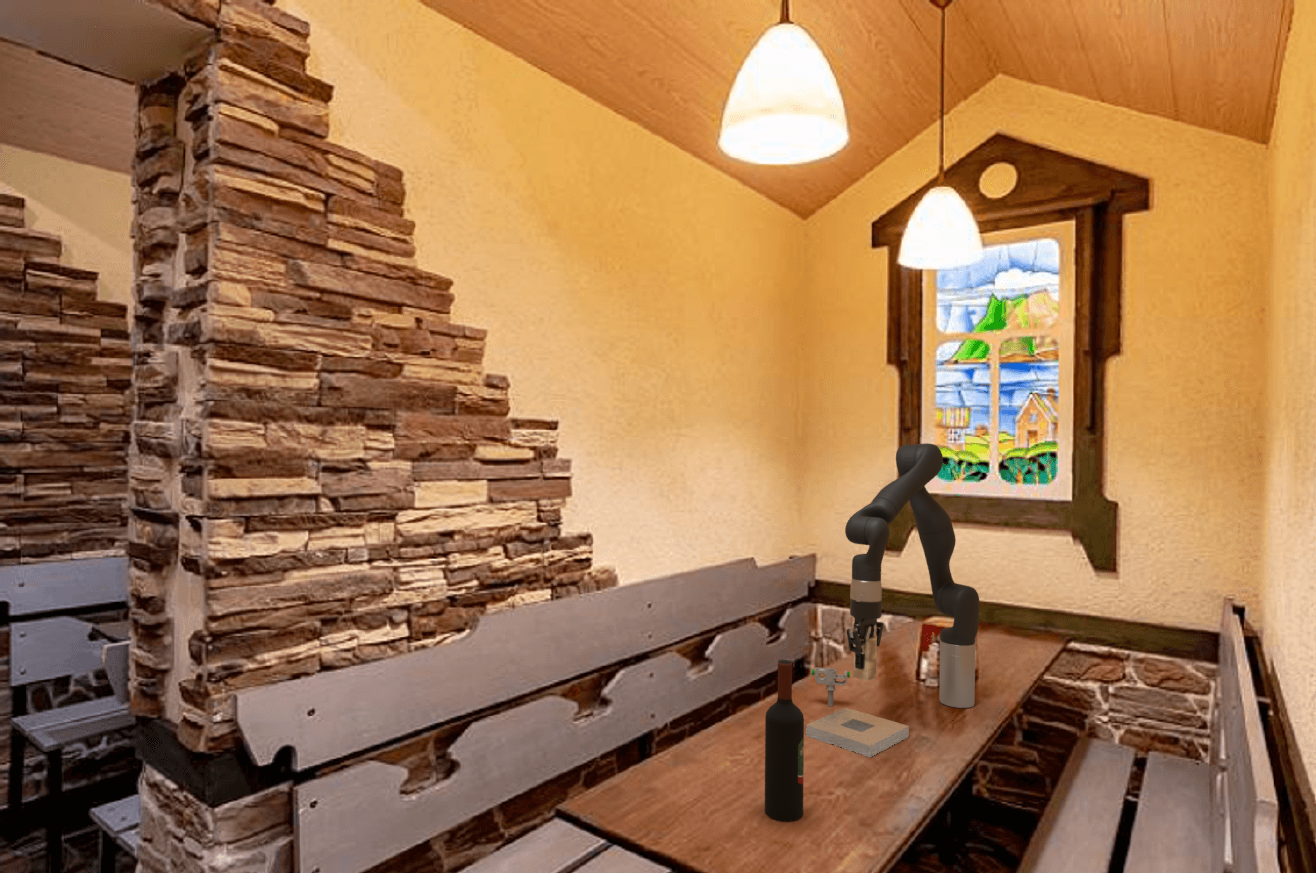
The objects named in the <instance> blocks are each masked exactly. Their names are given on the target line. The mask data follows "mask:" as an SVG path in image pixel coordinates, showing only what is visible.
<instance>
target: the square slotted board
mask: <svg viewBox="0 0 1316 873" xmlns="http://www.w3.org/2000/svg"><path fill="white" fill-rule="evenodd" d="M909 731H910V726H909V725H907V724H903V723H899V722H897V721H894V720H890V719H887V718H883V717H879V716H877V715H873V714H870V713H865V712H862V711H859V710H856V709H852V708H849V707H844V708H841V709H839V710H836V711H835V712H833V713H830V714H828V715H825V716H823V717H821V718H819V719H816V720H814V721H811V722H809V723H807V724H805V736H806V737H807V738H810V739H814V740H816V741H820V742H823V743H826V744H829V745H831V744H834V745H836V746H835V747H837V746H839V747H838V748H840V747H842V748H841V749H843V748H844V749H843V750H846V749H847V750H846V751H848V752H852V751H854V752H853V753H855V752H856V754H858V753H859V755H861V754H862V755H861V756H863V757H864V756H865V757H866V756H867V758H869V759H871V758H873V757H874V755H875V756H876V754H877V753H878V754H880V753H882V752H884V751H886V750H888V749H889V747H890V748H891V747H893V746H895V745H897V744H899V743H901V742H903V741H904V740H906V739H908V738H909V736H910V735H909V733H910V732H909ZM902 740H903V741H902ZM894 744H895V745H894ZM834 745H833V746H834ZM892 745H893V746H892ZM881 751H882V752H881ZM879 752H880V753H879ZM878 754H877V755H878ZM872 756H873V757H872Z"/></svg>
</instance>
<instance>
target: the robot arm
mask: <svg viewBox="0 0 1316 873" xmlns="http://www.w3.org/2000/svg"><path fill="white" fill-rule="evenodd" d="M895 454H896V455H895V464H896V469H897V473H898V476H899V477H898V478H896V479H894V480H893V481H891V482H889V483H888V484H886V485H885V486H884V487H883V488H881V490H879V492H878V493H877V494H876V495H875V496H874V498H873V499H872V500H871V501H870V503H868V504H866V505H865V506H863V507H862V508H861V509H859V510H857V511H855V513H853V515H851V516H850V517H849V519H848V520H847V522H846V525H845V529H844V530H845V532H844V533H845V537H846V538H847V540H848V541H849V542H851V543H852V544H855V545H863V546H869V547H868V550H867V551H866V553H860V554H859V553H858V554H856V555H854V556H853V557H852V560H851V561H852V562H851V581H850V590H849V591H850V592H849V593H850V594H849V595H850V596H849V597H850V598H849V602H850V603H849V614H850V616H851V617H853V618H854V619H853V620H854V621H853V627H852V628H851V629H850V628H847V629H846V636H847V641H848V647H849V652H853V653H854V652H855V667H856V668H858V669H864V667H865V654H864V653H865V645H867V640H868V639H869V638H870V637H877V648H878V647H880V645H881V639H882V633H883V630H884V623H883V622H880V621H878V620H877V619H880V618H881V617H882V609H883V608H882V602H883V598H882V597H883V588H882V587H883V586H882V564H883V563H882V562H883V558H884V555H885V552H886V549H887V548H886V547H887V544H888V541H889V538H890V527H889V524H891V523H892V522H893V521H894V520H895V519H896V518H897V516H898V515H899V513H900V512H901V511H902V509H903V508H904V507H905V505H906V504H907V503H908V502H909V505H910V508H911V511H912V514H913V518H914V520H915V526H916V531H917V533H918V537H919V541H920V543H921V546H922V551H923V553H924V557H925V562H926V565H927V570H928V574H929V581H930V586H931V594H932V599H933V602H934V606H935V608H936V609H937V611H938V612H940V613H941V614H943V615H947V616H950V617H953V624H952V626H948V627H944V628H941V630H940V633H939V697H938V698H939V702H940V703H941V704H943V705H945V706H948V707H952V708H958V709H959V708H960V709H968V708H973V707H974V706H975V700H976V699H975V694H976V693H975V692H976V687H975V686H976V684H975V683H976V638H977V634H978V631H979V621H980V620H979V618H980V597H979V594H978V591H977V590H976V589H975V588H974V587H973V586H970V585H966V584H962V583H961V584H960V583H957V582H955V581H954V579H953V577H952V572H951V566H950V564H951V563H950V562H951V559H952V556H953V553H954V550H955V548H956V547H955V546H956V534H955V531H954V527H953V522H952V520H951V517H950V515H949V513H948V512H947V511H946V510H945V509H944V508H943V506H941V504H940V503H939V502H938V501H937V499H935V498H934V497H933V496H932V495H931V494H930V492H929V491H928V490H927V488H926V485H927V484H929V483H930V482H931V481H932V480H933V479H934V478H935V477H937V476H938V474H939V473H940V472H941V470H942V467H943V465H944V464H943V462H944V459H943V456H944V455H943V454H942V451H941V449H940V447H939V446H938V445H936V444H933V443H928V442H927V443H916V444H915V443H913V444H903V445H901V446H899V447H898V448H897V450H896V452H895ZM859 638H860V639H864V640H863V641H861V640H859ZM860 644H862V646H861V647H860Z"/></svg>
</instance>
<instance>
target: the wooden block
mask: <svg viewBox="0 0 1316 873" xmlns="http://www.w3.org/2000/svg"><path fill="white" fill-rule="evenodd" d="M859 640H861V641H863V640H864V639H860V638H859ZM861 646H862V644H860V647H861ZM877 650H878V646H877V637H870V638H869V639H868V640H867V645H865V653H864V654H865V667H864V669H858V668H856V667H855V652H853V664H852V665H853V668H852V670H853V671H852V675H853V676H852V678H855V679H858V680H861V681H862V680H863V681H866V682H869V681H872V680H874V679H876V678H877V656H878V655H877V652H878V651H877Z"/></svg>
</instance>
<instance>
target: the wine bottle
mask: <svg viewBox="0 0 1316 873" xmlns="http://www.w3.org/2000/svg"><path fill="white" fill-rule="evenodd" d="M792 696H793V661H792V660H789V659H779V660H777V698H776V702H775V703H772V705H770V706H769V707H768V709H767V711H766V712H765V718H764V719H765V724H764V726H765V729H764V730H765V731H764V735H765V737H764V740H765V742H764V743H765V744H764V814H766V816H767V818H768V817H769V818H770V819H772V820H775V821H777V822H787V823H789V822H796V821H798V820H801V819H802V817H803V815H804V769H805V767H804V762H805V761H804V760H805V759H804V756H805V754H804V753H805V744H804V743H805V741H804V740H805V739H804V738H805V719H804V718H805V717H804V713H803V712H802V710H801V709H800V708H799V707H798V706H797V704H795V703H794V702H793V699H792V698H793V697H792Z"/></svg>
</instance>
